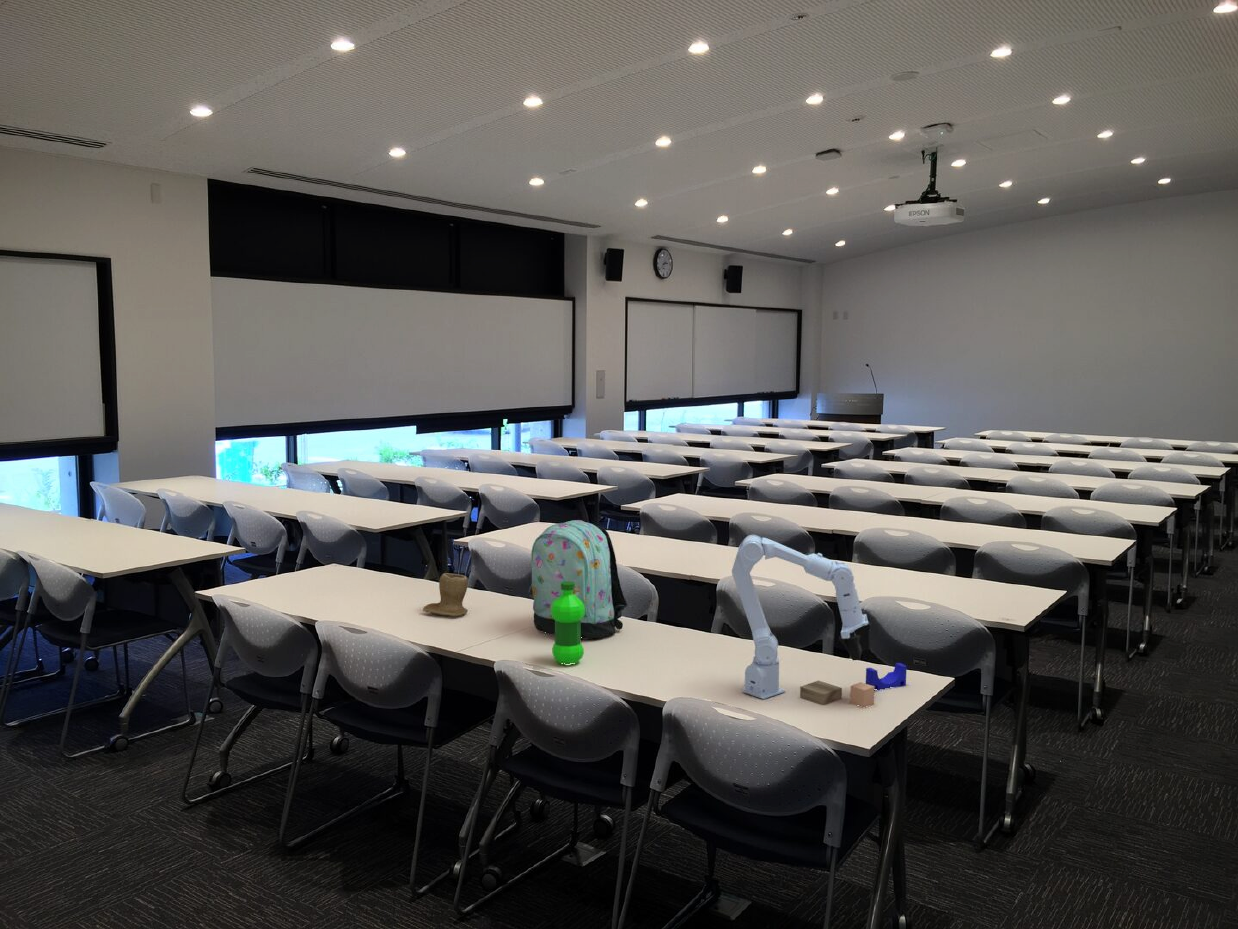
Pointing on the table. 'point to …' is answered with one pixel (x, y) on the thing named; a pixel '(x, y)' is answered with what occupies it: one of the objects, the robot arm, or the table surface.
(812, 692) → the olive block
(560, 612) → the plastic bottle
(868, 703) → the light tan block
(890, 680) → the blue cradle block
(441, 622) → the table surface
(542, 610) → the backpack
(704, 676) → the table surface
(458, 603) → the brown boot
